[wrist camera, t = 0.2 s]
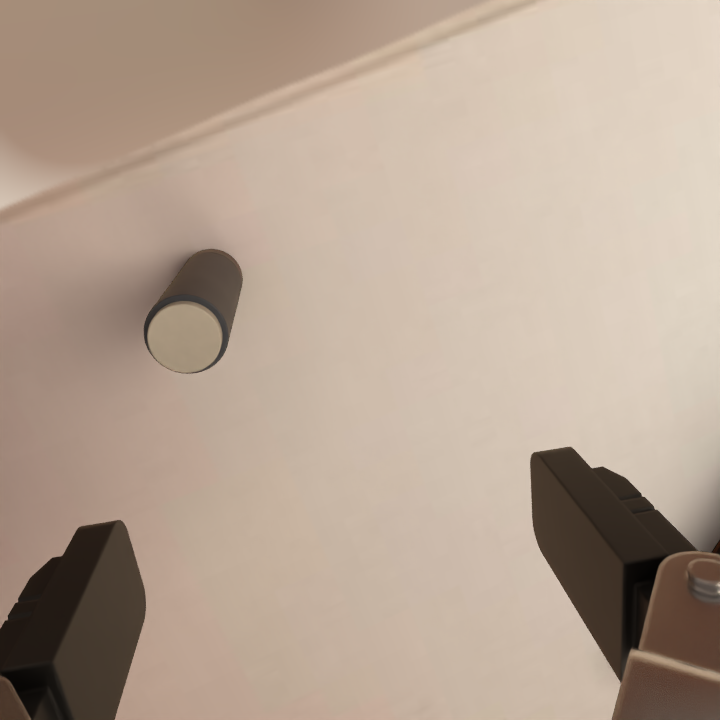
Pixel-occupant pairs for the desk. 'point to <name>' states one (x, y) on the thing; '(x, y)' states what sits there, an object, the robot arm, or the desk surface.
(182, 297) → the water bottle
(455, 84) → the desk surface
